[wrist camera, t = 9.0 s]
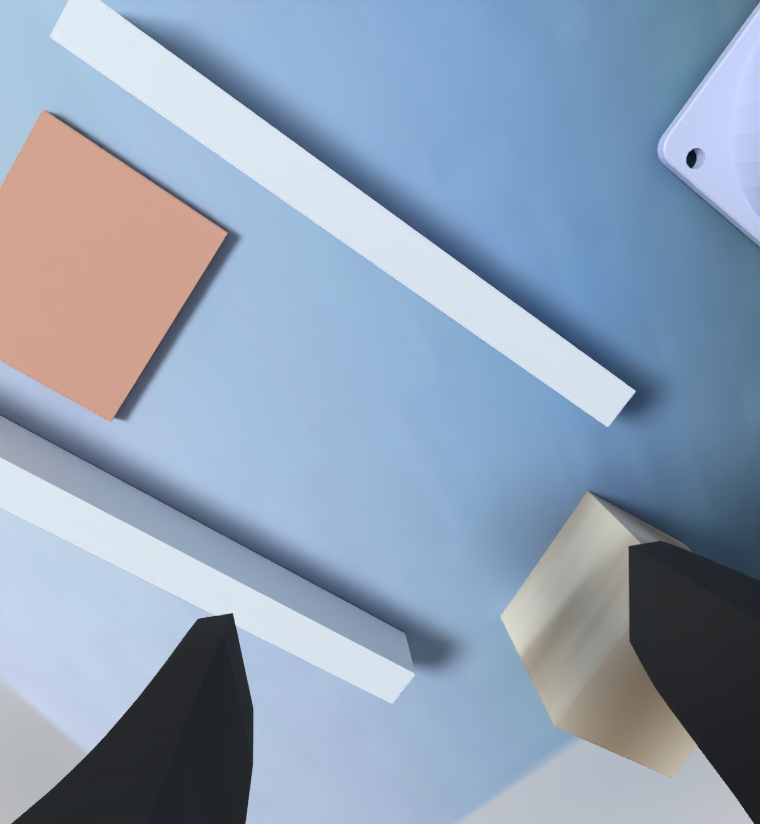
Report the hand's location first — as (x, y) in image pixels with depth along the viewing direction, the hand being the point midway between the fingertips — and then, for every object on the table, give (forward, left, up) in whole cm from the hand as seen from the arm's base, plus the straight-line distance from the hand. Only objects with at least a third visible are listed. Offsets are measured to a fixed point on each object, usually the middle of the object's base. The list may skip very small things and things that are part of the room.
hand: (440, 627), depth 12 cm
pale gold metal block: (-8, 0, -8) cm, 12 cm away
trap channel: (+4, 0, -8) cm, 9 cm away
